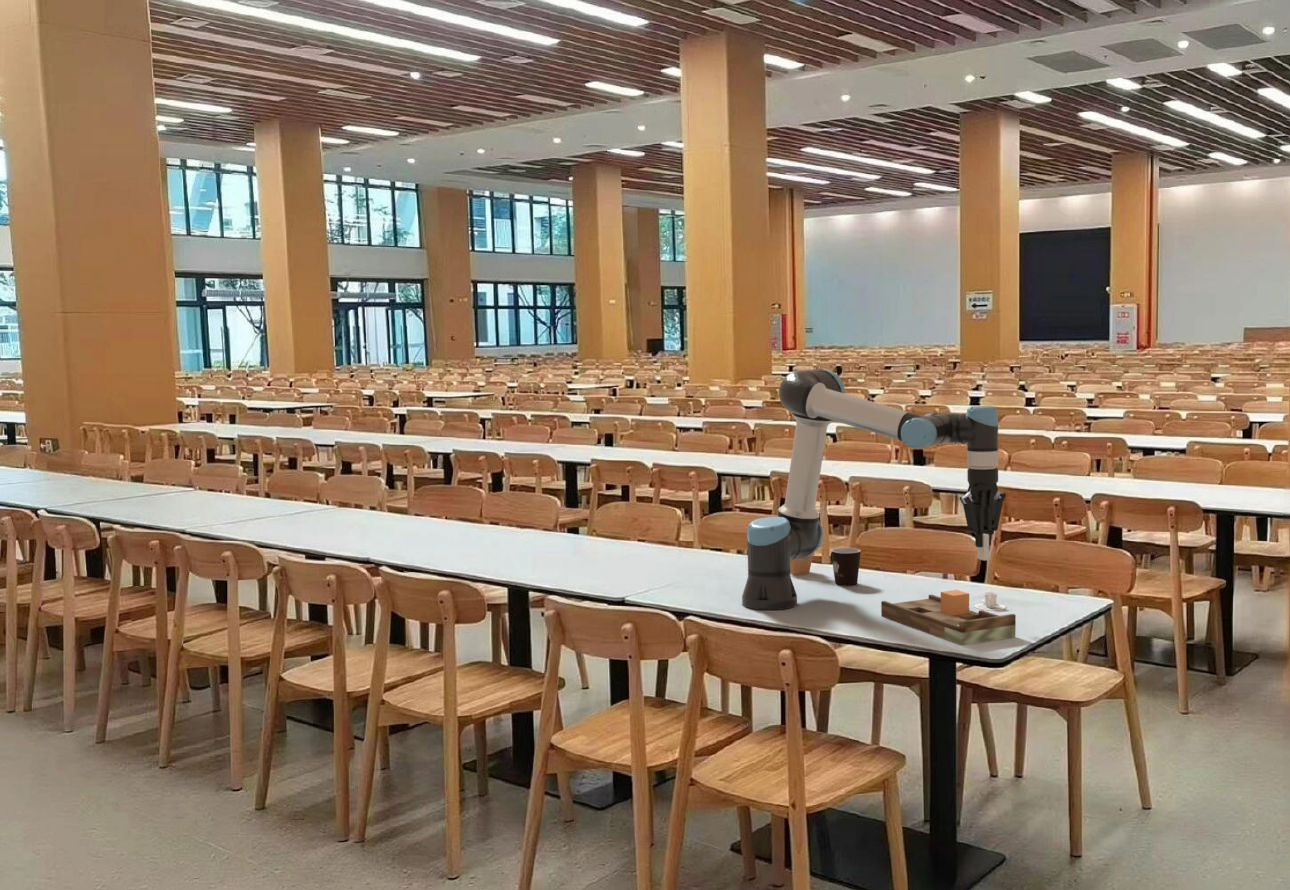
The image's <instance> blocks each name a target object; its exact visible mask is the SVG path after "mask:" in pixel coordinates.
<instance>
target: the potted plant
mask: <svg viewBox="0 0 1290 890" xmlns="http://www.w3.org/2000/svg"><path fill="white" fill-rule="evenodd" d="M814 555H815V552H814V553H812V554H810V555H809V556H807V557H804V558H798V559H795V560H792V561H790V575H796V576H800V575H803V576H804V575H808V574H810V571H811V566H812V562H813V557H814Z"/></svg>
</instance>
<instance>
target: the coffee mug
mask: <svg viewBox="0 0 1290 890" xmlns="http://www.w3.org/2000/svg"><path fill="white" fill-rule="evenodd" d="M861 551H862V550H861V549H859V548H853V547H838V548H833V549H831V550H830V552H831V553H830V556H829V557H830V561H831V563H832V569H833V570H832V571H833V576H834V577H833V578H834V584H835V585H836V586H837V587H838V586H840V587H853V586H857V585H858V581H859V580H858V579H859V571H860V569H859V568H860V563H861V562H860V561H861Z"/></svg>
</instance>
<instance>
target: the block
mask: <svg viewBox="0 0 1290 890" xmlns="http://www.w3.org/2000/svg"><path fill="white" fill-rule="evenodd" d="M940 597H941V612H945V613H948V614H951V615H959V614H966V613H969V610H970V593H968V592H965V591H961V590H959V589H953V590H944V591H940Z"/></svg>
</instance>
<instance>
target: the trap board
mask: <svg viewBox="0 0 1290 890" xmlns="http://www.w3.org/2000/svg"><path fill="white" fill-rule="evenodd" d="M880 604H881V605H880V606H881V609H880V611H881V617H882V618H885V619H888V620H890V621H894V622H897V623H899V624H902V625H905V626H907V627H911V628H913V629H915V630H918V631H921V632H923V633H927V634H928V635H929V634H930V635H933V636H934V637H937V638H941V639H943V640H946V641H949V642H952V643H953V644H954V643H955V644H957V645H961V646H965V645H966V646H967V645H972V644H973V645H974V644H979V643H986V642H992V641H993V642H994V641H998V640H1004V639H1005V640H1006V639H1011V638H1016V630H1017V629H1016V617H1017V616H1016V614H1015V613H1010V614H1004V615H1002V614H1001V615H998V614H995V613H992V612H988V611H987V610H982V609H979V610H978V612H976V611H973V610H970V609H969V613H966V614H959V615H951V614H948V613H945V612H941V596H937V595H933V594H928V598H924V599H917V600H916V599H915V600H909V601H902V602H894V603H892V602H889V601H885V600H881V602H880Z"/></svg>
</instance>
